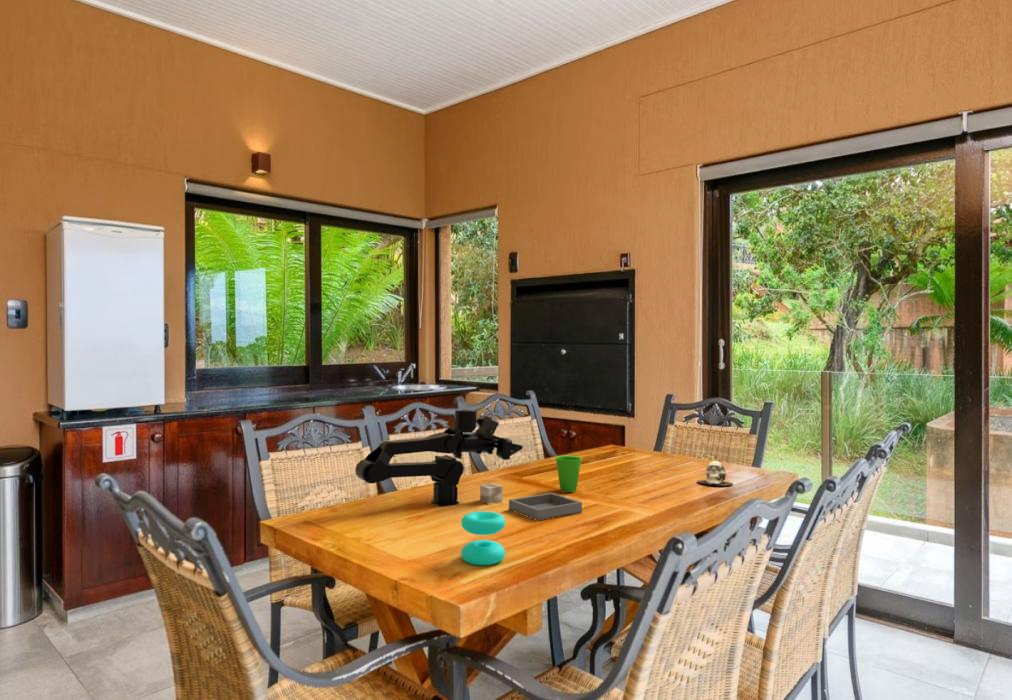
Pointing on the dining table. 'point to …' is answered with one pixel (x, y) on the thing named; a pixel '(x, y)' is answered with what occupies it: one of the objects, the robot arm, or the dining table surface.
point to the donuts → (483, 549)
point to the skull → (715, 474)
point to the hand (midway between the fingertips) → (514, 444)
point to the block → (491, 493)
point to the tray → (545, 506)
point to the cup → (568, 472)
